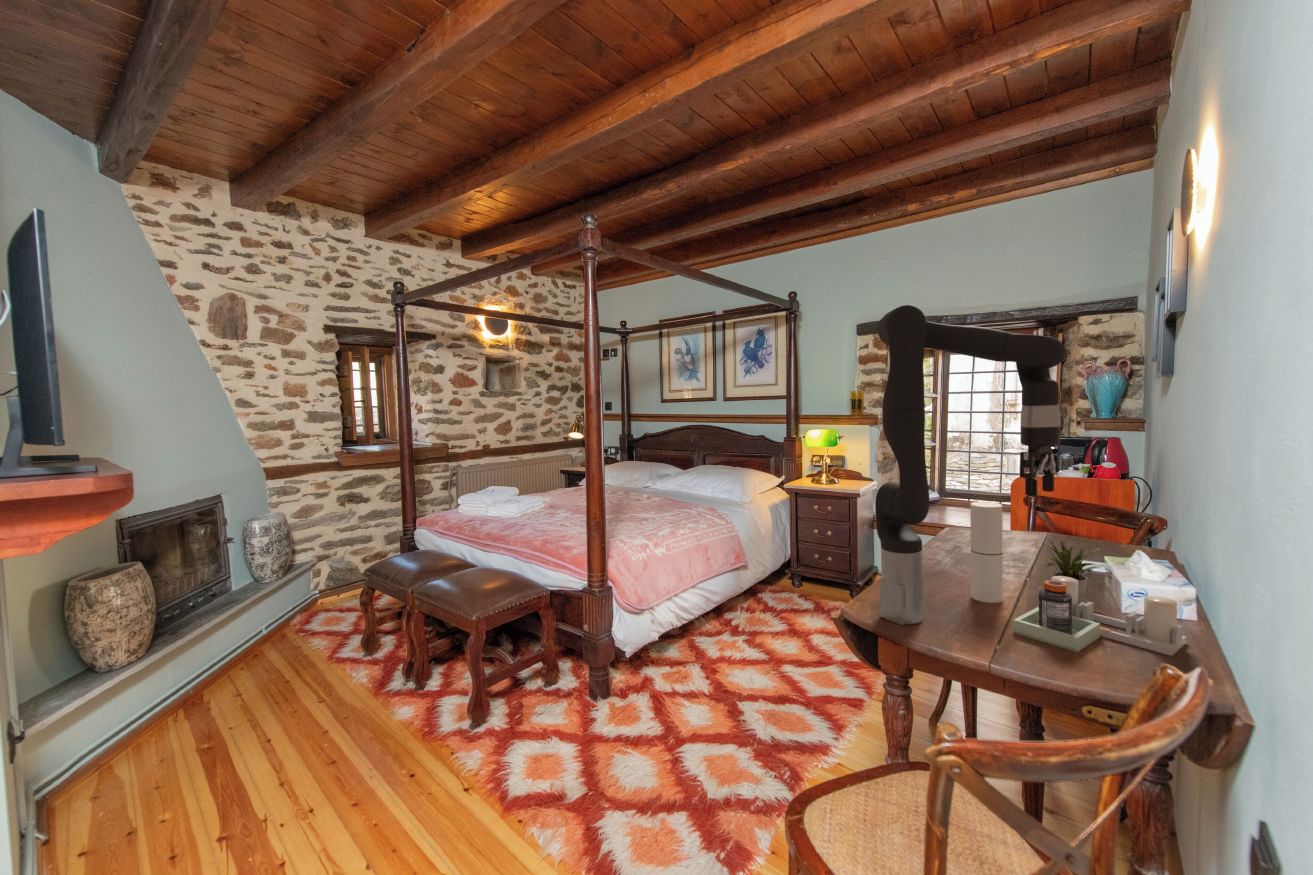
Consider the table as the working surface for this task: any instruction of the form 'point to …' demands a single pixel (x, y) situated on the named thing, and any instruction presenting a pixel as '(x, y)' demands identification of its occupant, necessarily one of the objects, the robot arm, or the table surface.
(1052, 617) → the pill bottle
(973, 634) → the table surface
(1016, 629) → the tray
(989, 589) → the cylindrical container
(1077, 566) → the house plant
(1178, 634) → the block
